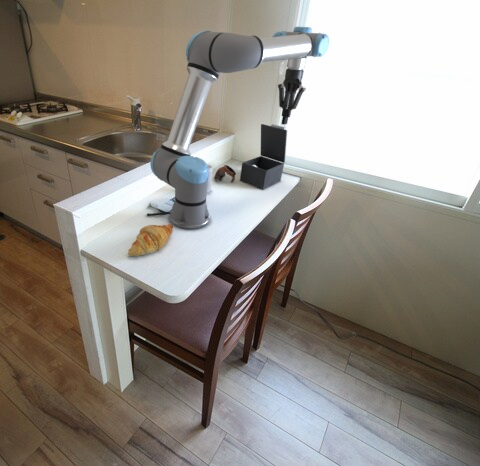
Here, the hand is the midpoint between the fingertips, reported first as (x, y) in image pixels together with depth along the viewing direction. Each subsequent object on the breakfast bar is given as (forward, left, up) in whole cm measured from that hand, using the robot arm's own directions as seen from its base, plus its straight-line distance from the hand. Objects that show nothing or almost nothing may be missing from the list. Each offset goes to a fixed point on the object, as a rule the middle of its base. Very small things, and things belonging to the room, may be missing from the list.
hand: (284, 123), depth 153 cm
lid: (-7, -3, -8) cm, 11 cm away
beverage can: (-44, -9, -26) cm, 52 cm away
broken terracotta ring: (-30, 0, -26) cm, 39 cm away
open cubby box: (-12, -5, -26) cm, 29 cm away
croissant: (-77, -44, -26) cm, 92 cm away
